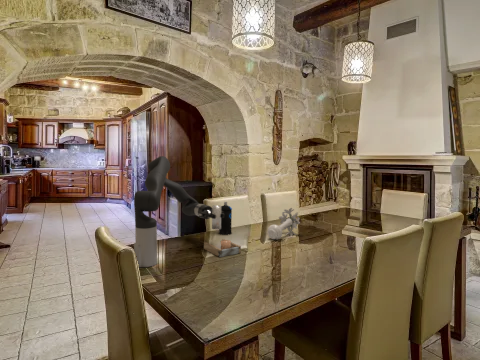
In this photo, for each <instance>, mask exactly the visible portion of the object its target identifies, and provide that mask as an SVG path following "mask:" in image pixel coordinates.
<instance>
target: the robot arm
mask: <svg viewBox="0 0 480 360" xmlns="http://www.w3.org/2000/svg"><path fill="white" fill-rule="evenodd" d="M147 164H148V165H147V166H148V170H149V173H148V174H147V176H146V178H145V181H144V183H145V188H146V190H137V191H136V192H135V193H134V197H133V207H134V224H135V228H134V229H135V242H134V243H133V248H134V249H133V251H135V253H136V256H137V260H138V264H139V267H138V268H148V267H152V266H156V265H157V264H158V243H157V242H158V232H157V230H158V228H157V227H158V226H157V225H158V222H157V220H156V219H155V218H153V217H150V216H148V215H147V214H145V213H144V212H156V211H158V210H159V208H160V205H161V204H160V203H161V197H162V193H163V192H162V191H163V189H164V187H165V188H166V189H168V191H169V192H170V193H171V194H172V195H173V197H174V198H175V199H176V200H177V201H178V202H179V203H184V202H186V201H187V202H186V203H185V204H183V206H182V208H181V211H182V213H183V214H184V215H186V216H190V217H191V216H197V217H198V218H201V219H205V220H209V219H212V218H213V219H215V216H216V215H215V214H212V206H210V205H208V204H203V203H199V201H198V200H196V199H195V198H193V197H192V196H190V195H189V194H188V192H187V191H186V190H185V189H184V187H183V185H181V184H180V183H177V182H175V181H174V180H171V179H168V178H167V175H168V173H169V171H170V170H171V163H170V160H169V159H168V157H167V156H164V155H160V156H158V157H156V158H155V159H154V160H152V161H150V162H149V163H147ZM224 215H225V214H224V213H223V211H221V217H222V218H224Z"/></svg>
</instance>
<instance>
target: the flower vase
mask: <svg viewBox="0 0 480 360" xmlns="http://www.w3.org/2000/svg"><path fill="white" fill-rule="evenodd" d="M293 211H295V209H293V208H292V207H290V208H289V209H283V211H282V213H281V216H278V219H279V220H280V224H279V225H278V224H276V223H275V224H271V225H269V226H268V228H267V235H268V237H269V238H270V239H271V240H275V241H276V240H280V239H281V238H282V236H283V230H286V229H287V231H288V232H287V233H285V235H289V236H290V237H293V235H294V236H298V234H297V233H295V232H294V229H298V225H299V224H300V223H301V222H300V219H301V218H300V217H299V216H298V212H295V214H292V212H293ZM288 215H289V217H288Z"/></svg>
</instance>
